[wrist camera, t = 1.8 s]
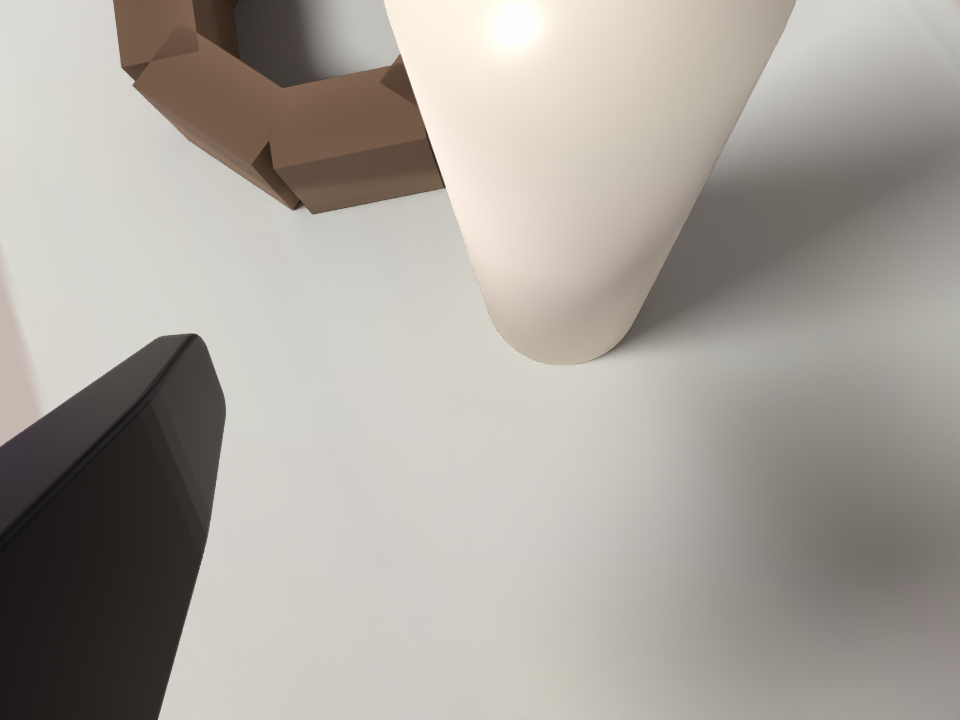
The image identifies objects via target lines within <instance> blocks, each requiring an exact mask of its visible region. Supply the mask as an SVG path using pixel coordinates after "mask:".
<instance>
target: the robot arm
mask: <svg viewBox="0 0 960 720" xmlns="http://www.w3.org/2000/svg"><path fill="white" fill-rule="evenodd" d="M225 417H226V405H225V398H224V394H223V391H222V388H221V385H220V383H219V380H218V377H217V374H216V371H215V369H214V366H213V363H212V360H211V357H210V354H209V352H208V349H207V346H206V344H205V342H204V341H203V339H202V338H201V337H200V336H198V335H197V334H179V335H168V336H161V337H158V338H157V339H155V340H154V341H152V342H151V343H149V344H148V345H146V346H145V347H143V348H142V349H141V350H139V351H138V352H136V353H135V354H133V355H132V356H130V357H129V358H128V359H126V360H125V361H123V362H122V363H120V364H119V365H117V366H116V367H115V368H113V369H112V370H110V371H109V372H107V373H106V374H104V375H103V376H102V377H100V378H99V379H97V380H96V381H94V382H93V383H91V384H90V385H89V386H87V387H86V388H84V389H83V390H81V391H80V392H78V393H77V394H76V395H74V396H73V397H71V398H70V399H68V400H67V401H65V402H64V403H63V404H61V405H60V406H58V407H57V408H55V409H54V410H52V411H51V412H50V413H48V414H47V415H45V416H44V417H42V418H41V419H39V420H38V421H37V422H35V423H34V424H32V425H31V426H30V427H28V428H27V429H25V430H24V431H23V432H21V433H19V434H18V435H16V436H15V437H14V438H12V439H11V440H9V441H8V442H6V443H5V444H3V445H2V446H1V447H0V720H158V717H159V714H160V710H161V707H162V703H163V699H164V696H165V692H166V688H167V685H168V681H169V678H170V674H171V670H172V667H173V663H174V659H175V656H176V652H177V649H178V645H179V641H180V638H181V634H182V630H183V627H184V623H185V619H186V616H187V612H188V609H189V605H190V601H191V598H192V594H193V590H194V587H195V583H196V580H197V576H198V572H199V569H200V565H201V561H202V558H203V554H204V550H205V546H206V541H207V537H208V532H209V526H210V520H211V514H212V507H213V500H214V493H215V486H216V480H217V473H218V466H219V459H220V452H221V445H222V438H223V432H224V425H225Z"/></svg>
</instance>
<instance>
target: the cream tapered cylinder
mask: <svg viewBox="0 0 960 720" xmlns="http://www.w3.org/2000/svg"><path fill="white" fill-rule="evenodd" d="M795 3H796V0H384V4H385V8H386V12H387V15H388V18H389V21H390V24H391V27H392V30H393V33H394V35H395V38H396V41H397V44H398V47H399V50H400V53H401V56H402V59H403V62H404V65H405V68H406V71H407V74H408V77H409V80H410V83H411V86H412V89H413V92H414V94H415V97H416V100H417V103H418V106H419V109H420V112H421V115H422V118H423V121H424V124H425V127H426V130H427V133H428V136H429V139H430V142H431V145H432V148H433V151H434V154H435V156H436V159H437V162H438V165H439V168H440V171H441V174H442V177H443V180H444V183H445V186H446V189H447V192H448V195H449V198H450V201H451V204H452V207H453V210H454V213H455V215H456V218H457V221H458V224H459V227H460V230H461V233H462V236H463V239H464V242H465V245H466V248H467V251H468V254H469V257H470V260H471V263H472V266H473V269H474V272H475V274H476V277H477V280H478V283H479V286H480V289H481V292H482V295H483V298H484V301H485V304H486V307H487V310H488V313H489V315H490V318H491V320H492V322H493V324H494V326H495V328H496V330H497V331H498V332H499V334H500V335H501V336H502V338H503V339H504V340H505V341H506V342H507V343H508V344H509V345H510V346H511V347H513V348H514V349H515V350H516V351H518V352H519V353H521V354H523V355H524V356H526V357H528V358H530V359H533V360H535V361H538V362H542V363H545V364H551V365H575V364H580V363H584V362H588V361H591V360H593V359H596V358H598V357H600V356H601V355H603V354H605V353H607V352H608V351H609V350H611V349H612V348H613V347H615V346H616V345H617V344H618V343H619V342H620V341H621V340H622V339H623V338H624V336H625V335H626V334H627V332H628V331H629V330H630V328H631V326H632V324H633V323H634V321H635V319H636V317H637V315H638V313H639V311H640V309H641V307H642V305H643V303H644V301H645V299H646V297H647V296H648V294H649V292H650V290H651V288H652V286H653V284H654V282H655V280H656V278H657V276H658V274H659V272H660V270H661V268H662V266H663V264H664V262H665V261H666V259H667V257H668V255H669V253H670V251H671V249H672V247H673V245H674V243H675V241H676V239H677V237H678V235H679V233H680V231H681V229H682V227H683V225H684V224H685V222H686V220H687V218H688V216H689V214H690V212H691V210H692V208H693V206H694V204H695V202H696V200H697V198H698V196H699V194H700V192H701V190H702V189H703V187H704V185H705V183H706V181H707V179H708V177H709V175H710V173H711V171H712V169H713V167H714V165H715V163H716V161H717V159H718V157H719V155H720V154H721V152H722V150H723V148H724V146H725V144H726V142H727V140H728V138H729V136H730V134H731V132H732V130H733V128H734V126H735V124H736V122H737V120H738V118H739V117H740V115H741V113H742V111H743V109H744V107H745V105H746V103H747V101H748V99H749V97H750V95H751V93H752V91H753V89H754V87H755V85H756V83H757V82H758V80H759V78H760V76H761V74H762V72H763V70H764V68H765V66H766V64H767V62H768V60H769V58H770V56H771V54H772V52H773V50H774V48H775V46H776V45H777V43H778V41H779V39H780V37H781V35H782V33H783V31H784V29H785V27H786V24H787V22H788V20H789V17H790V15H791V12H792V10H793V8H794V5H795Z"/></svg>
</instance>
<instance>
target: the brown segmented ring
mask: <svg viewBox="0 0 960 720" xmlns="http://www.w3.org/2000/svg"><path fill="white" fill-rule="evenodd" d="M237 1H238V0H113V2H114V10H115V19H116V27H117V35H118V43H119V51H120V59H121V67H122V69H123V70H125V71H126V72H127V73H128V74H129V75H130V76H131V77H132V78H133V79H134V80H135V83H134V84H133V85H132V86H133V87H135V88H136V89H137V90H138V91H139V92H140V93H141V94H142V95H143V96H144V97H145V98H146V99H147V100H148V101H149V102H150V103H151V104H152V105H153V106H154V107H155V108H156V109H157V110H158V111H159V112H160V113H161V114H162V115H163V116H164V117H165V118H166V119H167V120H169V121H170V122H171V123H172V124H173V125H174V126H175V127H176V128H177V129H178V130H179V131H180V132H181V133H182V134H183V135H184V136H185V137H186V138H187V139H188V140H189V141H190V142H192V143H193V144H195V145H196V146H198V147H199V148H201V149H202V150H204V151H205V152H207V153H208V154H210V155H211V156H213V157H214V158H216V159H217V160H219V161H220V162H222V163H223V164H225V165H226V166H228V167H229V168H230V169H232V170H233V171H235V172H236V173H238V174H239V175H241V176H242V177H244V178H245V179H247V180H248V181H250V182H251V183H253V184H254V185H256V186H257V187H259V188H260V189H262V190H263V191H265V192H266V193H268V194H269V195H271V196H272V197H274V198H275V199H276V200H278V201H279V202H281V203H282V204H284V205H285V206H287V207H288V208H290V209H291V210H294V208H295V207H296V205H297V204H298V203H299V201H300V200H301V202H302V203H303V204H304V205H305V206H306V207H307V209H308V210H309V211H310V212H311V213H312V214H316V213H321V212H326V211H331V210H336V209H341V208H346V207H351V206H356V205H361V204H366V203H371V202H376V201H381V200H386V199H391V198H396V197H401V196H406V195H411V194H416V193H421V192H426V191H431V190H436V189H441V188H444V187H443V181H442V176H441V171H440V168H439V165H438V162H437V159H436V156H435V154H434V151H433V148H432V145H431V142H430V139H429V136H428V133H427V130H426V127H425V124H424V121H423V118H422V115H421V112H420V109H419V106H418V103H417V100H416V97H415V94H414V92H413V89H412V86H411V83H410V80H409V77H408V74H407V71H406V68H405V65H404V62H403V59H402V56H401V53H400V55H399V56H398V58H397V59H396V60H395V62H394V63H393V64H392V66H387V67H382V68H377V69H372V70H368V71H363V72H358V73H353V74H348V75H343V76H339V77H334V78H329V79H324V80H319V81H315V82H310V83H305V84H300V85H295V86H290V87H286V88H282V87H280V86H279V85H277V84H275V83H274V82H272V81H271V80H269V79H268V78H266V77H265V76H263V75H262V74H260V73H259V72H257V71H255V70H254V69H252V68H251V67H249V66H248V65H246V64H245V63H243V62H242V61H240V59H239V52H238V46H237V39H236V32H235V25H234V18H233V11H232V8H233V7H234V5H235V4H236V3H237Z"/></svg>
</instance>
